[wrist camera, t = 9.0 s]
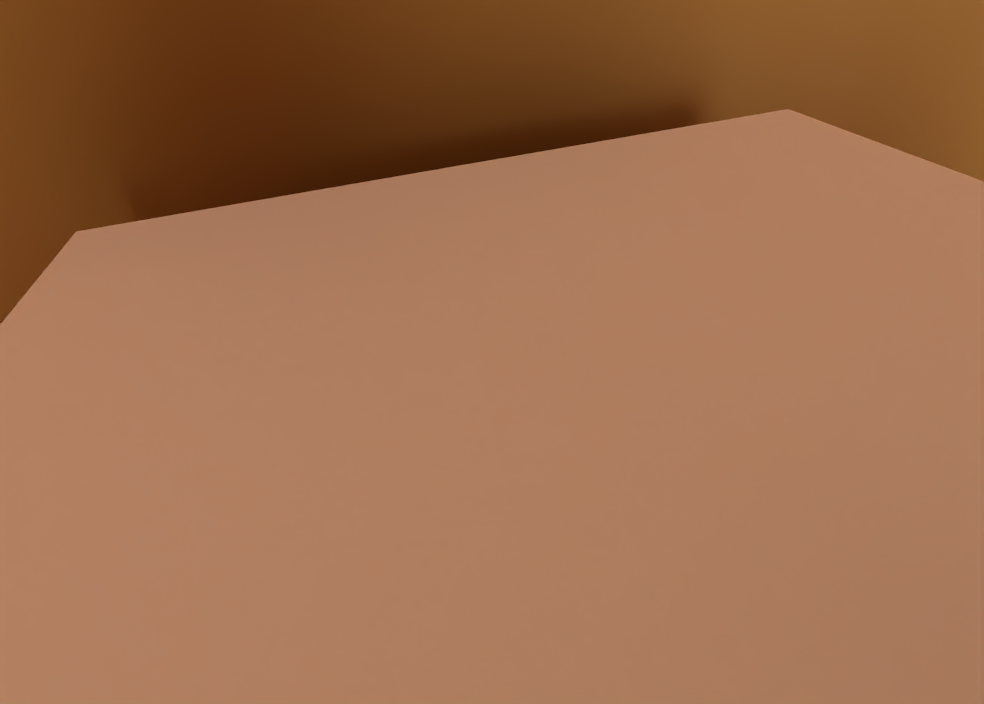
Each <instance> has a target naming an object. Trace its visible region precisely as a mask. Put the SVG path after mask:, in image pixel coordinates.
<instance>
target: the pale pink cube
mask: <svg viewBox="0 0 984 704" xmlns="http://www.w3.org/2000/svg"><path fill="white" fill-rule="evenodd" d="M0 704H984V181H981V180H979V179H976V178H973V177H971V176H968V175H965V174H962V173H960V172H957V171H954V170H952V169H949V168H946V167H944V166H941V165H938V164H935V163H933V162H930V161H927V160H925V159H922V158H919V157H917V156H914V155H911V154H908V153H906V152H903V151H900V150H898V149H895V148H892V147H890V146H887V145H884V144H881V143H879V142H876V141H873V140H871V139H868V138H865V137H863V136H860V135H857V134H854V133H852V132H849V131H846V130H844V129H841V128H838V127H835V126H833V125H830V124H827V123H825V122H822V121H819V120H817V119H814V118H811V117H808V116H806V115H803V114H800V113H798V112H795V111H792V110H790V109H785V110H779V111H773V112H768V113H762V114H756V115H750V116H744V117H739V118H733V119H727V120H721V121H715V122H710V123H704V124H698V125H692V126H686V127H681V128H675V129H669V130H663V131H657V132H651V133H646V134H640V135H634V136H628V137H622V138H617V139H611V140H605V141H599V142H593V143H588V144H582V145H576V146H570V147H564V148H559V149H553V150H547V151H541V152H535V153H529V154H524V155H518V156H512V157H506V158H500V159H495V160H489V161H483V162H477V163H471V164H466V165H460V166H454V167H448V168H442V169H437V170H431V171H425V172H419V173H413V174H407V175H402V176H396V177H390V178H384V179H378V180H373V181H367V182H361V183H355V184H349V185H344V186H338V187H332V188H326V189H320V190H315V191H309V192H303V193H297V194H291V195H286V196H280V197H274V198H268V199H262V200H256V201H251V202H245V203H239V204H233V205H227V206H222V207H216V208H210V209H204V210H198V211H193V212H187V213H181V214H175V215H169V216H164V217H158V218H152V219H146V220H140V221H134V222H129V223H123V224H117V225H111V226H105V227H100V228H94V229H88V230H82V231H76V232H75V233H74V235H73V236H72V237H71V238H70V240H69V241H68V242H67V243H66V244H65V246H64V247H63V248H62V249H61V251H60V252H59V253H58V254H57V256H56V257H55V258H54V259H53V260H52V262H51V263H50V264H49V265H48V267H47V268H46V269H45V270H44V272H43V273H42V274H41V275H40V276H39V278H38V279H37V280H36V281H35V283H34V284H33V285H32V286H31V287H30V289H29V290H28V291H27V292H26V294H25V295H24V296H23V297H22V299H21V300H20V301H19V302H18V303H17V305H16V306H15V307H14V308H13V310H12V311H11V312H10V313H9V315H8V316H7V317H6V318H5V319H4V321H3V322H2V323H1V324H0Z"/></svg>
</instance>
